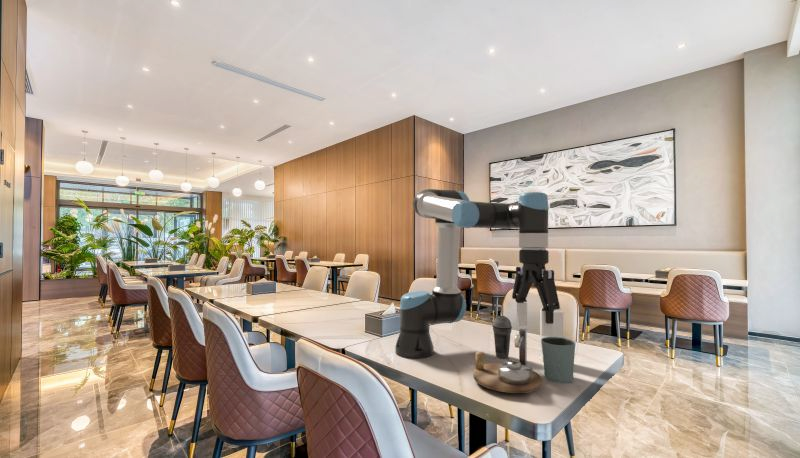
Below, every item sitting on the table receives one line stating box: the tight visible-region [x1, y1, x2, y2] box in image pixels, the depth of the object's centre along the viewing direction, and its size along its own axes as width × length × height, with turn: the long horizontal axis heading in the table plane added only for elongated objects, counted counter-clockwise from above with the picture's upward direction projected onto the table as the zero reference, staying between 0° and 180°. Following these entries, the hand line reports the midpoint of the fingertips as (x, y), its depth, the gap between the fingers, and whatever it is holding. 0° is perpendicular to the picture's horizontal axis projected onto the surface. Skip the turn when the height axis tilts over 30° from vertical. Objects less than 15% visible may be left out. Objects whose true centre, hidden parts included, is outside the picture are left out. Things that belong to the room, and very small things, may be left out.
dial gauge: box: [514, 328, 533, 370], centre depth 117 cm, size 5×12×14 cm, turn 149°
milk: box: [539, 304, 565, 362], centre depth 130 cm, size 6×6×22 cm
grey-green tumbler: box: [541, 337, 576, 384], centre depth 114 cm, size 10×10×12 cm
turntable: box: [473, 351, 542, 394], centre depth 109 cm, size 20×20×6 cm
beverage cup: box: [491, 304, 513, 360], centre depth 135 cm, size 7×7×20 cm
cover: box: [498, 359, 530, 386], centre depth 105 cm, size 9×9×5 cm
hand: (534, 330), depth 96 cm, fingers open, 10 cm apart
